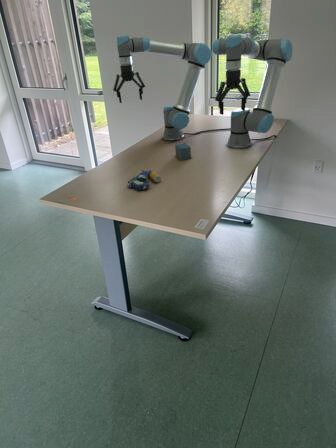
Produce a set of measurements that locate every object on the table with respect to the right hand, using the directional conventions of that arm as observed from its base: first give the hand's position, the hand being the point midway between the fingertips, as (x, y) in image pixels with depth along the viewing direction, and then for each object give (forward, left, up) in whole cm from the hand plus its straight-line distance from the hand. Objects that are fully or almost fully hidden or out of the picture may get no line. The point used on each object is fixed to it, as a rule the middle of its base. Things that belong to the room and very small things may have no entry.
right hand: (232, 112), depth 182 cm
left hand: (+41, -55, +3) cm, 69 cm away
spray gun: (+54, 0, -29) cm, 61 cm away
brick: (+20, -25, -29) cm, 44 cm away
